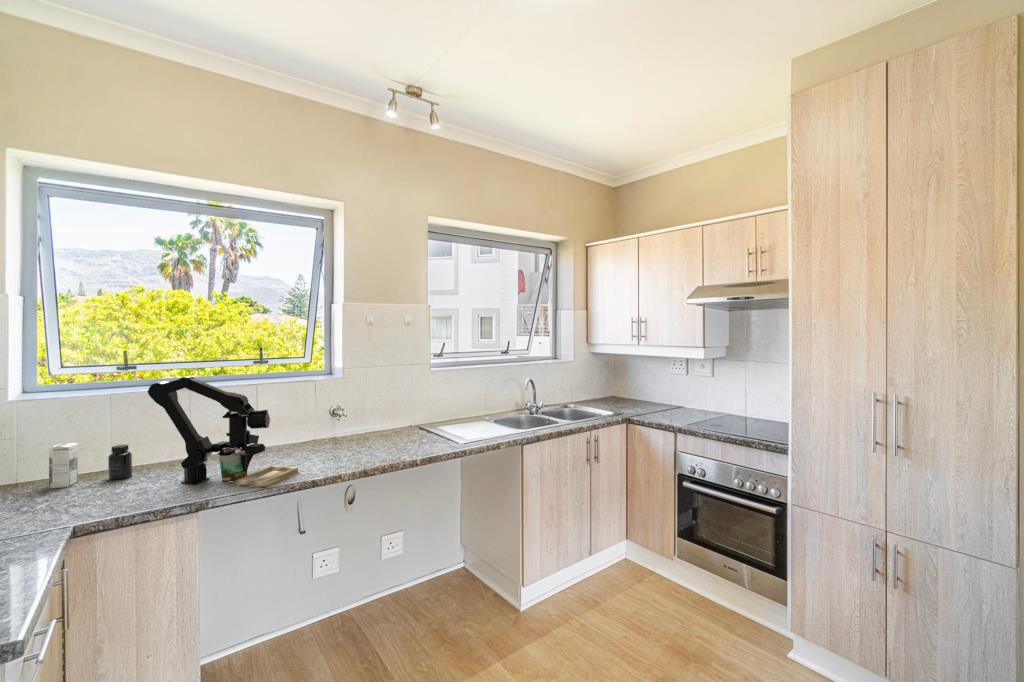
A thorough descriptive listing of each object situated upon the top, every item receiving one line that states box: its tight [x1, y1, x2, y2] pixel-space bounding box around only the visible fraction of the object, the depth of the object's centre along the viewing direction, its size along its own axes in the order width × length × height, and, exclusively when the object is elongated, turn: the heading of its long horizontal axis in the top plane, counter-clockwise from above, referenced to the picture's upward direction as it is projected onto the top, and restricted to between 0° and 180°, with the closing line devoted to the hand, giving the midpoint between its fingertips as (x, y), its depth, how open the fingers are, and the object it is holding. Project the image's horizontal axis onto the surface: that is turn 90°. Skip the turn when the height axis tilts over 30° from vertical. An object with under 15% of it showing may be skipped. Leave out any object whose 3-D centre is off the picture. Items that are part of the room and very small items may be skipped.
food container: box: [218, 450, 248, 483], centre depth 174 cm, size 12×6×10 cm, turn 169°
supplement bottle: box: [107, 444, 133, 481], centre depth 175 cm, size 7×7×12 cm
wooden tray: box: [235, 465, 299, 489], centre depth 174 cm, size 12×18×2 cm, turn 169°
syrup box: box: [48, 442, 79, 489], centre depth 166 cm, size 6×6×14 cm
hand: (238, 470), depth 174 cm, fingers closed on food container, 6 cm apart
